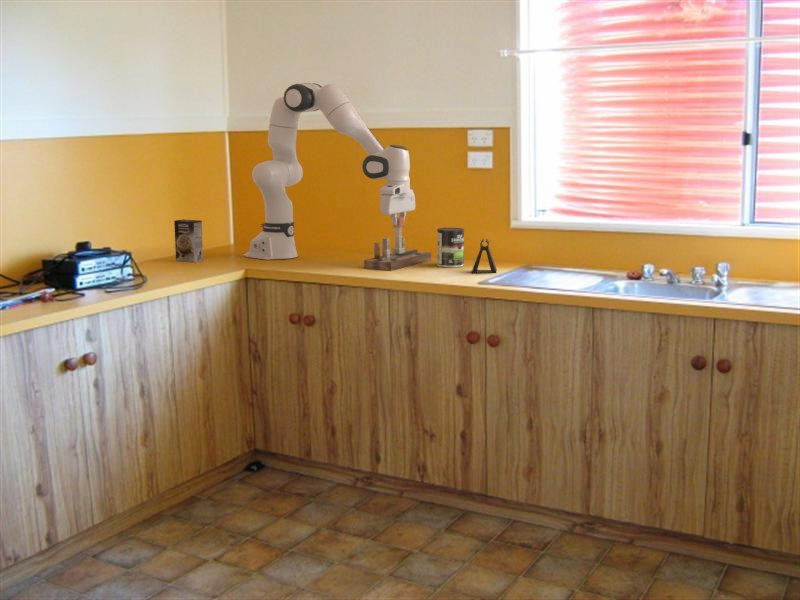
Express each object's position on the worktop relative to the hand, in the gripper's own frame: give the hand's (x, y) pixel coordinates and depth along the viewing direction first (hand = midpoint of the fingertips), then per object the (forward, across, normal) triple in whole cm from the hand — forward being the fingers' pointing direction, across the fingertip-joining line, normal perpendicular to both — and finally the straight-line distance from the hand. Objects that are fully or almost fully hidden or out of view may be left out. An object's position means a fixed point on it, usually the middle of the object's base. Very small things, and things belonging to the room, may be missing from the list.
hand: (398, 224), depth 378 cm
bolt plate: (+15, 0, 0) cm, 15 cm away
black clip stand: (+16, 0, +37) cm, 40 cm away
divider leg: (+11, 0, 0) cm, 11 cm away
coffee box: (+16, +35, -76) cm, 85 cm away
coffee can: (+16, -7, +19) cm, 26 cm away
